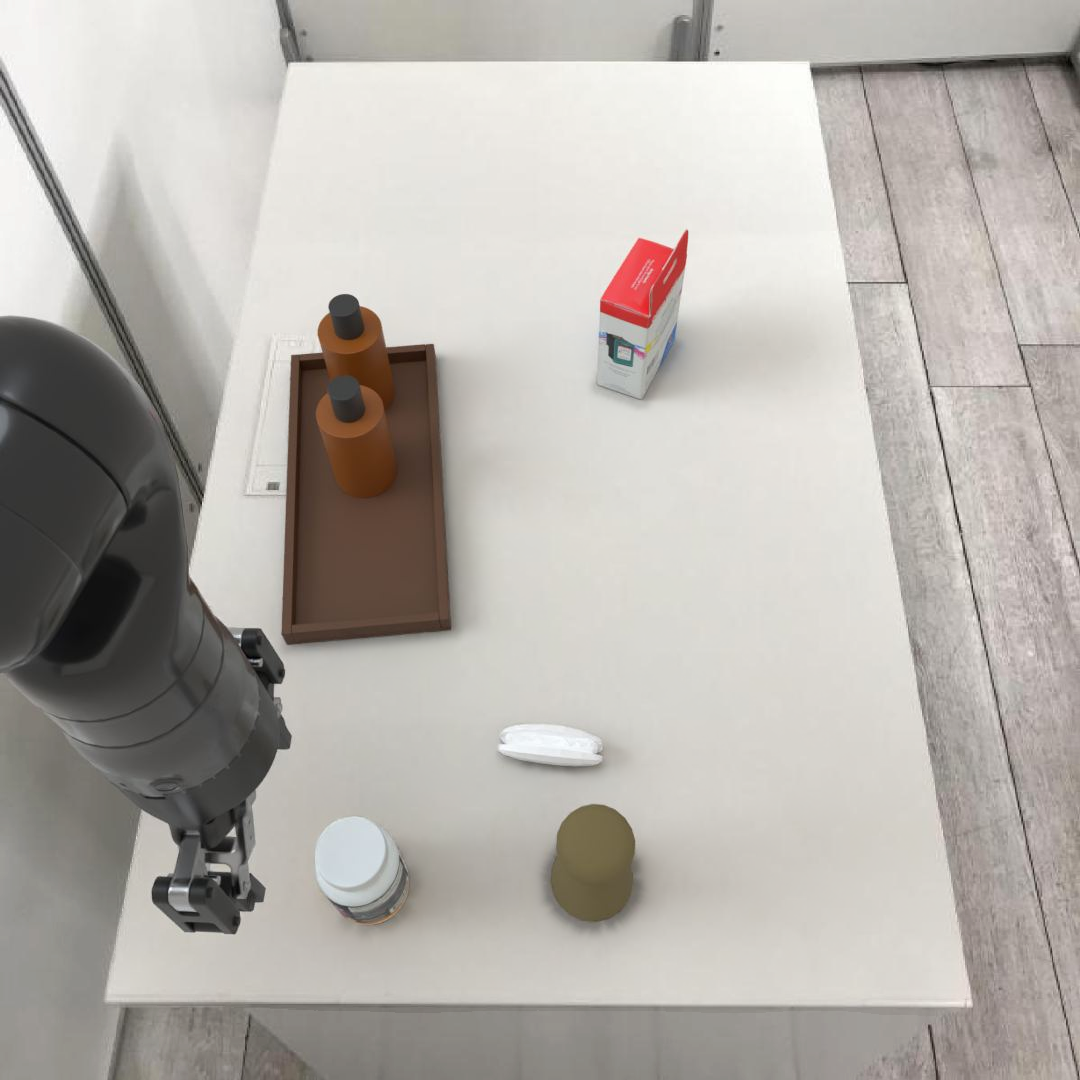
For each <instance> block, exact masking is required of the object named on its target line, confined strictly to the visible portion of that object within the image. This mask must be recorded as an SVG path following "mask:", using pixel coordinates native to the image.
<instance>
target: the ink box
mask: <svg viewBox="0 0 1080 1080" xmlns="http://www.w3.org/2000/svg"><path fill="white" fill-rule="evenodd" d="M688 244H689V229H687V228H685V229H684V232H683V234H682V235H681V237H680V238H679V241H678V242H677V244H676V245H675V246H674V248H672V247H671V246H667V245H664V244H661V243H658V242H655V241H652V240H649V239H645V238H642V237H638V238H637V240H636V241H635V242H634V244H633V246H632V247H631V249H630V251H629V252H628V254H627V255H626V257H625V259H624V260H623V261H622V263H621V265H620V266H619V268H618V270H617V271H616V273H615V275H614V276H613V277H612V279H611V281H610V282H609V284H608V286H607V287H606V289H605V290H604V292H603V294H602V295H601V297H600V299H599V323H598V347H597V365H596V385H598V386H601V387H603V388H607V389H609V390H612V391H614V392H618V393H621V394H624V395H627V396H630V397H632V398H635V399H638V400H643V398H644V396H645V394H646V392H647V391H648V388H649V387H650V385H651V383H652V382H653V380H654V378H655V376H656V374H657V373H658V370H659V369H660V367H661V365H662V363H663V362H664V360H665V358H666V356H667V355H668V353H669V351H670V349H671V347H672V346H673V343H674V342H675V338H676V332H677V326H678V318H679V312H680V305H681V299H682V298H681V297H682V292H683V284H684V280H685V279H684V278H685V272H686V265H687V259H688Z"/></svg>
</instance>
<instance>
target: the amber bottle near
mask: <svg viewBox="0 0 1080 1080" xmlns="http://www.w3.org/2000/svg"><path fill="white" fill-rule="evenodd" d="M327 390H328V393H327V394H326V395H325V396H324V397H323V398H322V399H321V400H320V402H319V404H318V406H317V410H316V419H317V422H318V426H319V429H320V432H321V435H322V438H323V441H324V444H325V448H326V451H327V454H328V457H329V460H330V463H331V466H332V470H333V473H334V476H335V479H336V482H337V484H338V486H339V487H340V488H341V490H343V491H344V492H345V493H347V494H348V495H351V496H353V497H358V498H369V497H374V496H377V495H379V494H381V493H383V492H385V491H386V490H387V489H388V488H389V487H390V486H391V485H392V484H393V482H394V481H395V478H396V476H397V464H396V459H395V455H394V451H393V446H392V442H391V437H390V433H389V428H388V424H387V419H386V415H385V411H384V406H383V402H382V400H381V398H380V396H379V395H378V394H377V393H376V392H375V391H373V390H372V389H370V388H368V387H366V386H362V385H359V382H358V381H357V380H356V379H355V378H354V377H352V376H347V375H343V376H338V377H336V378H334V379H333V380H332V381H331V382H330V383H329V385H328V389H327Z"/></svg>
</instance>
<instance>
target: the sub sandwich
mask: <svg viewBox="0 0 1080 1080" xmlns="http://www.w3.org/2000/svg"><path fill="white" fill-rule="evenodd" d="M499 738H500V741H501V742H502V743H499V744H498V745H497V751H498V752H499V753H500V754H501V755H503V756H506V757H509V758H512V759H515V760H519V761H523V762H524V761H525V762H531V763H535V764H542V765H550V766H560V767H562V766H563V767H590V766H597V765H598V764H601V763H602V761H603V756H602V755H600V754H598V753H599V752H600V753H601V752H602V750H603V748H604V745H603V744H604V743H603V741H602V739H601V738H599V737H598V736H596V735H594V734H593V733H590V732H588V731H586V730H584V729H579V728H575V727H572V726H568V725H565V724H554V723H544V722H542V723H540V722H539V723H535V722H533V723H520V724H516V725H515V724H514V725H511V726H507V727H505V728H504V729H503V730H502V731H501V732H500V735H499Z"/></svg>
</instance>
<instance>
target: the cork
mask: <svg viewBox="0 0 1080 1080" xmlns="http://www.w3.org/2000/svg"><path fill="white" fill-rule="evenodd" d="M555 850H556V854H557V855H556V857H555V859H554V862H553V864H552V866H551V871H550V880H549V881H550V885H551V890H552V894H553V897H554V898H555V900H556V901H557V903H558V905H559V906H560V908H561V909H562V910H564V911H565V913H567V914H568V915H569V916H571V917H573V918H576V919H578V920H580V921H584V922H595V923H597V922H601V921H603V920H609V919H610V918H612V917H614V916H615V915H617V914H618V913H620V912H621V911H622V909H623V908H624V907H625V905H627V903H628V902H629V900H630V897H631V894H632V891H633V884H634V874H633V871H632V867H631V864H632V863H633V860H634V857H635V854H636V837H635V834H634V831H633V828H632V826H631V825H630V823H629V822H628V820H627V818H626V817H625V816H624V815H622V814H621V813H620V811H618V810H617V809H615V808H613V807H610V806H608V805H605V804H599V803H591V804H586V805H582V806H580V807H578V808H576V809H574V810H573V811H571V812H570V813H568V814H567V816H566V817H565V818H564V819H563V821H561V824H560V826H559V829H558V831H557V834H556V842H555Z"/></svg>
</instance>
